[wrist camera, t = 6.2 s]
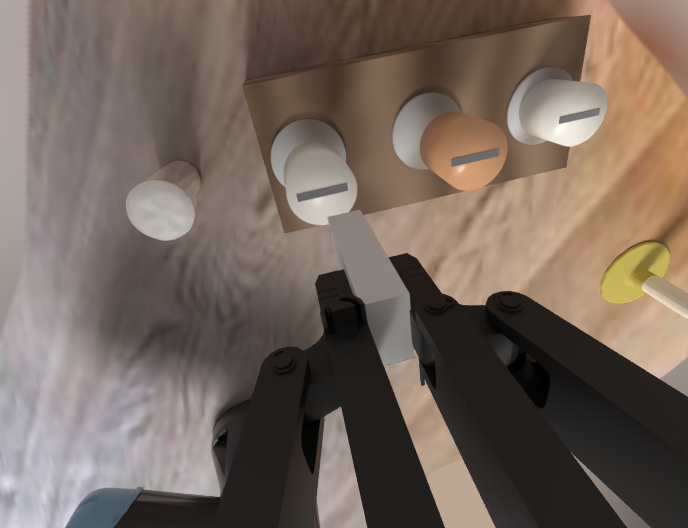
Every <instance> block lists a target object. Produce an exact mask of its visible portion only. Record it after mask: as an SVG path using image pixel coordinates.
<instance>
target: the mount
mask: <svg viewBox="0 0 688 528" xmlns="http://www.w3.org/2000/svg"><path fill="white" fill-rule="evenodd" d="M590 18H591V15H586V16H576V17H565V18H555V19H547V20H542V21H537V22H532V23H527V24H522V25H517V26H512V27H507V28H502V29H497V30H492V31H487V32H482V33H478V34H473V35H468V36H463V37H458V38H453V39H448V40H443V41H438V42H433V43H428V44H423V45H418V46H413V47H408V48H403V49H399V50H394V51H389V52H384V53H379V54H374V55H369V56H364V57H359V58H354V59H349V60H344V61H339V62H334V63H329V64H325V65H320V66H315V67H310V68H305V69H300V70H295V71H290V72H285V73H280V74H275V75H270V76H265V77H260V78H255V79H250V80H246V81H245V83H244V84H243V89H244V92H245V96H246V99H247V103H248V106H249V110H250V113H251V117H252V120H253V124H254V127H255V131H256V134H257V138H258V141H259V145H260V148H261V152H262V155H263V159H264V163H265V166H266V170H267V173H268V177H269V180H270V184H271V187H272V191H273V194H274V198H275V201H276V205H277V208H278V212H279V215H280V219H281V222H282V226H283V229H284V233H289V232H293V231H297V230H301V229H306V228H310V227H314V226H318V225H315V224H310V223H307V222H305V221H303V220H302V219H300V218H299V217H298V216H297V215H296V214H295V213H294V212H293V211H292V209H291V208H290V206H289V203H288V200H287V195H286V188H285V182H284V174H283V171H284V165H285V162H286V159H287V157H288V156H289V154H290V153H291V152H292V151H293V150H294V149H295V148H296V147H298V146H299V145H301V144H304V143H307V142H316V141H317V142H323V143H326V144H328V145H330V146H332V147H333V148H334V149H336V151H337V152H338V153H339V154H340V155H341V157H342V158H343V160H344V161H345V162H346V164H347V165H348V167H349V168H350V170H351V171H352V172H353V174H354V176H355V179H356V183H357V196H356V200H355V203H354V205H353V207H352V208H351V210H350V211H349V212H351V211H356V210H361V212H362V214H363V215H365V214H369V213H374V212H378V211H382V210H386V209H391V208H395V207H399V206H403V205H408V204H412V203H416V202H420V201H425V200H429V199H433V198H437V197H442V196H446V195H450V194H454V193H459V192H463V191H464V190H459V189H457V188H455V187H453V186H452V185H450V184H449V183H448V182H446V181H445V180H444V179H442V178H441V177H439V176H438V175H437V174H435V173H434V172H433V171H431V170H430V169H429V168H428V167H426V165H425V164H424V163H423V161H422V159H421V155H420V140H421V137H422V134H423V132H424V130H425V128H426V127H427V125H428V124H429V123H430V122H431V121H432V120H433V119H434V118H436V117H437V116H439V115H440V114H443V113H445V112H449V111H458V112H462V113H465V114H468V115H471V116H474V117H477V118H480V119H483V120H486V121H489V122H492V123H494V124H496V125H497V126H499V127H500V128H501V129H502V131H503V132H504V134H505V136H506V139H507V145H508V150H507V156H506V160H505V163H504V165H503V167H502V169H501V170H500V172H499V173H498V174H497V176H496V177H495V178H494V179H493V180H492V181H491V182H489V183H488V184H487V185H485V186H488V185H493V184H497V183H501V182H505V181H510V180H514V179H518V178H522V177H527V176H531V175H535V174H539V173H544V172H548V171H552V170H556V169H561V168H565V167H566V165H567V159H568V153H569V147H570V146H563V145H560V144H557V143H554V142H551V141H548V140H545V139H541V138H538V137H535V136H532V135H529V134H528V133H526V132H525V131H524V130H523V129H522V127H521V124H520V120H519V113H520V108H521V105H522V102H523V100H524V98H525V96H526V95H527V93H528V92H529V91H530V90H531V89H532V88H533V87H534V86H535V85H536V84H538V83H540V82H541V81H544V80H547V79H560V80H569V81H578V82H580V79H581V73H582V67H583V61H584V55H585V49H586V43H587V36H588V30H589V24H590ZM483 187H484V186H483Z"/></svg>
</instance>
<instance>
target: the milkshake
mask: <svg viewBox="0 0 688 528" xmlns="http://www.w3.org/2000/svg"><path fill="white" fill-rule="evenodd" d="M200 184H201V178H200V175H199V173H198V170H197V169H196V168H195V167H194V166H192V165H191V164H190V163H188V162H187V161H177V160H174V161H173V162H171V163H169V164H168V165H166V166H164V167H163V168H162V169H160V170H159V171H158V172H157V173H155V174H154V175H153V176H151V177H149V178H148V179H146V180H145V181H143V182H142V183H140V184H138V185H137V186H135V187H134V188H133V189H132V190H131V191H130V193H129V194H128V196H127V198H126V210H127V215H128V218H129V220H130V221H131V223H132V224H133V225H134V226H135V227H136V228H137V229H138V230H139V231H140V232H142V233H143V234H145V235H147V236H149V237H152V238H155V239H158V240H163V241H168V240H174V239H177V238H179V237H181V236H183V235H184V234H186V233H187V232H188V231H189V230H190V229H191V227H192V225H193V222H194V219H195V211H196V204H197V197H198V193H199V188H200Z"/></svg>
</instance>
